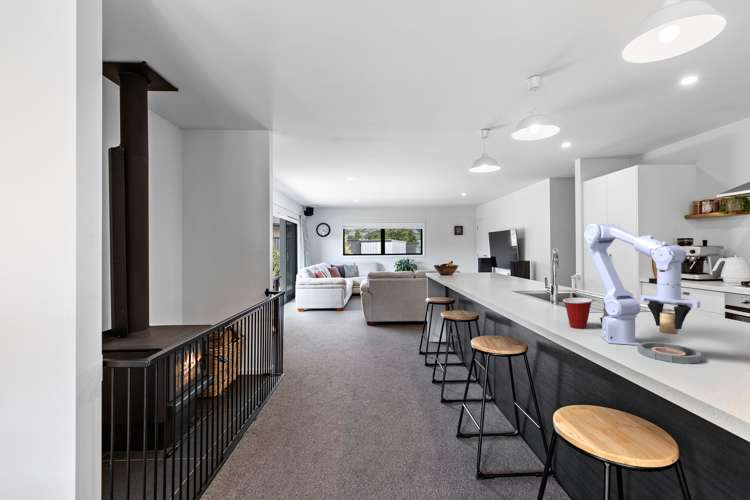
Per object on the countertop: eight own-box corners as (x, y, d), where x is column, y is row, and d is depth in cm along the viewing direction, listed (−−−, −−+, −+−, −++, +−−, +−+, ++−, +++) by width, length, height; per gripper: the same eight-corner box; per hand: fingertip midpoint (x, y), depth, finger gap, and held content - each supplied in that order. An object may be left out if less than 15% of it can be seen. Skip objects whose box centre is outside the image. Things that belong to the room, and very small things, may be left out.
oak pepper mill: (663, 333, 106) (664, 314, 105) (656, 330, 110) (657, 311, 110) (681, 334, 104) (681, 315, 104) (673, 331, 108) (673, 312, 108)
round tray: (650, 360, 102) (650, 354, 102) (630, 346, 116) (630, 340, 116) (713, 366, 98) (713, 359, 98) (684, 350, 112) (684, 344, 112)
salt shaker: (619, 329, 139) (619, 300, 138) (603, 329, 140) (603, 300, 140) (612, 326, 144) (612, 298, 144) (597, 325, 146) (597, 297, 145)
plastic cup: (558, 324, 149) (558, 296, 149) (584, 324, 148) (585, 297, 147) (569, 330, 138) (569, 301, 138) (597, 330, 137) (597, 301, 137)
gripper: (705, 285, 102) (704, 330, 102) (648, 281, 115) (648, 321, 115) (694, 287, 99) (693, 333, 99) (637, 282, 112) (637, 323, 112)
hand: (668, 327), depth 107 cm, fingers closed on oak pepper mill, 4 cm apart
